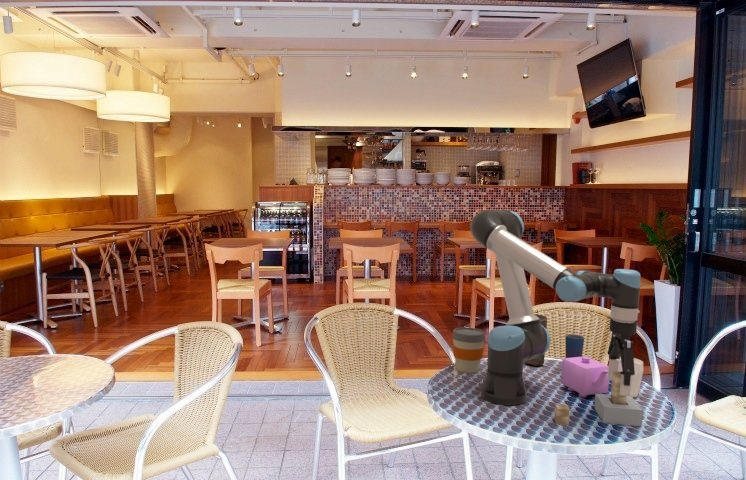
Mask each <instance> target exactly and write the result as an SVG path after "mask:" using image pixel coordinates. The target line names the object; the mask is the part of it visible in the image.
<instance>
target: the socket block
mask: <svg viewBox="0 0 746 480" xmlns="http://www.w3.org/2000/svg"><path fill="white" fill-rule="evenodd" d="M594 396H595V398H594V410H595V412H596V414H597V415H598V417H599V418H600V420H601V422H602V423H603V424H611V425H622V426H623V425H624V426H634V427H642V426H643V416H644V415H643V414H644V410H643V409H642V407H641V406H640V405H639V403H638V402H637V401H636V400H635V399H634V397H630V396H626V405H619V404H612V403H611V394H606V393H600V394H595V395H594Z"/></svg>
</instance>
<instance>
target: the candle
mask: <svg viewBox="0 0 746 480" xmlns="http://www.w3.org/2000/svg"><path fill="white" fill-rule="evenodd" d="M534 315H536V316H537V317H538V318H539V319H540V323H541V325H542V326H544V328H546V329H547V325H548V317H547V316H546V315H543V314H535V313H534ZM545 355H546V352H545V353H544V354H543V355H541V356H540V357H538V358H536V359H531V360H528V361H526V362H524V363H525V364H527V365H528V364H529V365H530V366H534V367H537V366H541V365H543V364H545V358H546V357H545Z"/></svg>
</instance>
